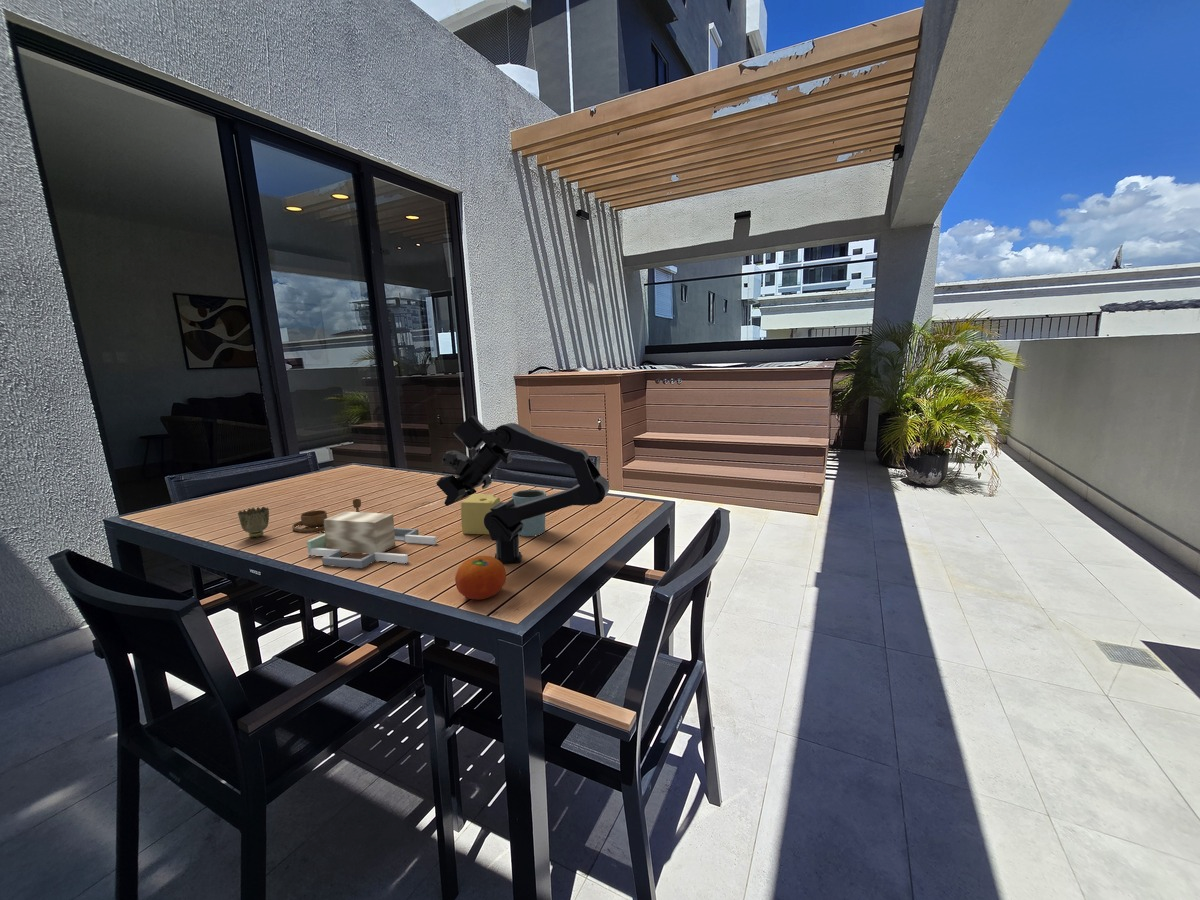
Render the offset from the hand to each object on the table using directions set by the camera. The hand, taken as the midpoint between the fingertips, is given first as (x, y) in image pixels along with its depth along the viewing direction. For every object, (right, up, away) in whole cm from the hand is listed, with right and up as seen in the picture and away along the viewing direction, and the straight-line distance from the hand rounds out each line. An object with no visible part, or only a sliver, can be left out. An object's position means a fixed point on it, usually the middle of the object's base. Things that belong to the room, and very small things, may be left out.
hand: (446, 504), depth 126 cm
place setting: (-46, -10, +29) cm, 55 cm away
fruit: (+14, -17, -21) cm, 31 cm away
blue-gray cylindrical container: (+19, -11, +21) cm, 30 cm away
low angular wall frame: (-20, -13, +6) cm, 25 cm away
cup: (-61, -11, +17) cm, 64 cm away
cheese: (+4, -11, +23) cm, 26 cm away
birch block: (-25, -13, +7) cm, 29 cm away
